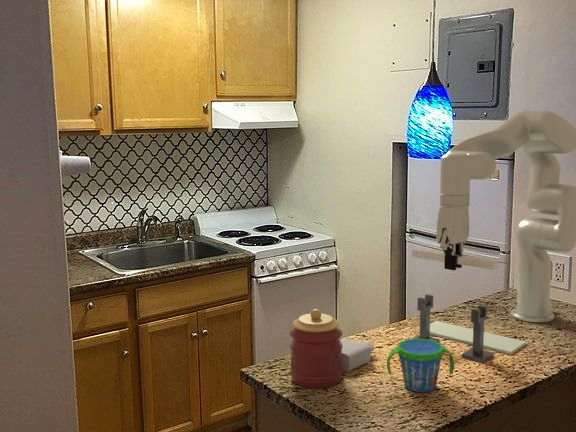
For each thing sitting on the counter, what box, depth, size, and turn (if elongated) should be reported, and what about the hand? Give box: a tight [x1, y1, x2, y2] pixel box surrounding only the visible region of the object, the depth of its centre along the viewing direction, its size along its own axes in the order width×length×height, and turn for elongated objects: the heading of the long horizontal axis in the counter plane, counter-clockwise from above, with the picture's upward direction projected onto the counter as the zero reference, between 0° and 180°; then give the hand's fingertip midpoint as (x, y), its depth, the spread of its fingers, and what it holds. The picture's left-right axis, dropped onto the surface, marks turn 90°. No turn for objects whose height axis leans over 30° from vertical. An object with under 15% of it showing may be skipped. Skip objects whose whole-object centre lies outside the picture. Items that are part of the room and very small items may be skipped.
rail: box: [411, 248, 499, 271], centre depth 169 cm, size 2×24×2 cm, turn 48°
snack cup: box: [386, 338, 455, 393], centre depth 149 cm, size 16×10×10 cm
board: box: [418, 320, 527, 355], centre depth 181 cm, size 10×28×1 cm, turn 47°
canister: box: [289, 308, 344, 389], centre depth 155 cm, size 13×13×18 cm
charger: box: [341, 338, 376, 372], centre depth 167 cm, size 5×9×15 cm
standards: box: [412, 294, 495, 364], centre depth 172 cm, size 6×22×14 cm, turn 48°
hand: (453, 267), depth 169 cm, fingers closed on rail, 2 cm apart
